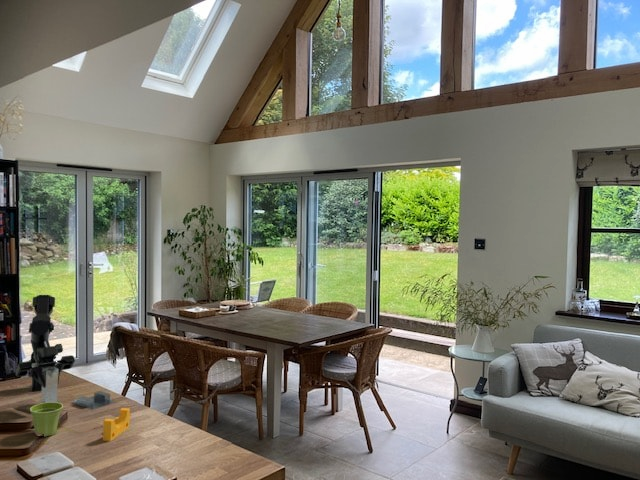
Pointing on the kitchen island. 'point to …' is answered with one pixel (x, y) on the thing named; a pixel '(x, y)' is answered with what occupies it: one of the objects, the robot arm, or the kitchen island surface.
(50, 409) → the plant pot
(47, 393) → the grey upright block
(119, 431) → the pipe clamp
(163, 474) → the kitchen island surface
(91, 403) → the vise
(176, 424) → the kitchen island surface
